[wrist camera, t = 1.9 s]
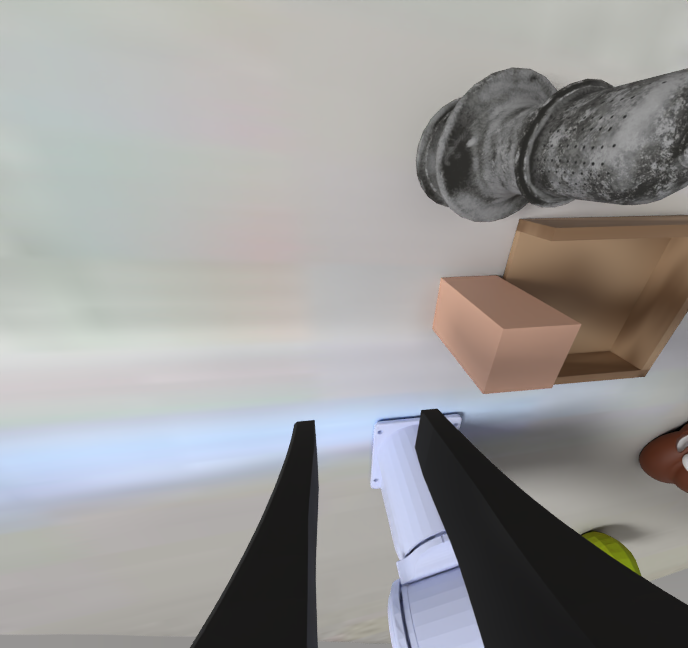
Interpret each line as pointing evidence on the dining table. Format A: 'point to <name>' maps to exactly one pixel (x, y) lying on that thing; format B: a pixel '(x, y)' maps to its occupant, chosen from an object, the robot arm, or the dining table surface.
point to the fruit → (613, 549)
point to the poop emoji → (668, 458)
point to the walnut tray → (607, 286)
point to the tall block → (502, 333)
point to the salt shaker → (555, 144)
